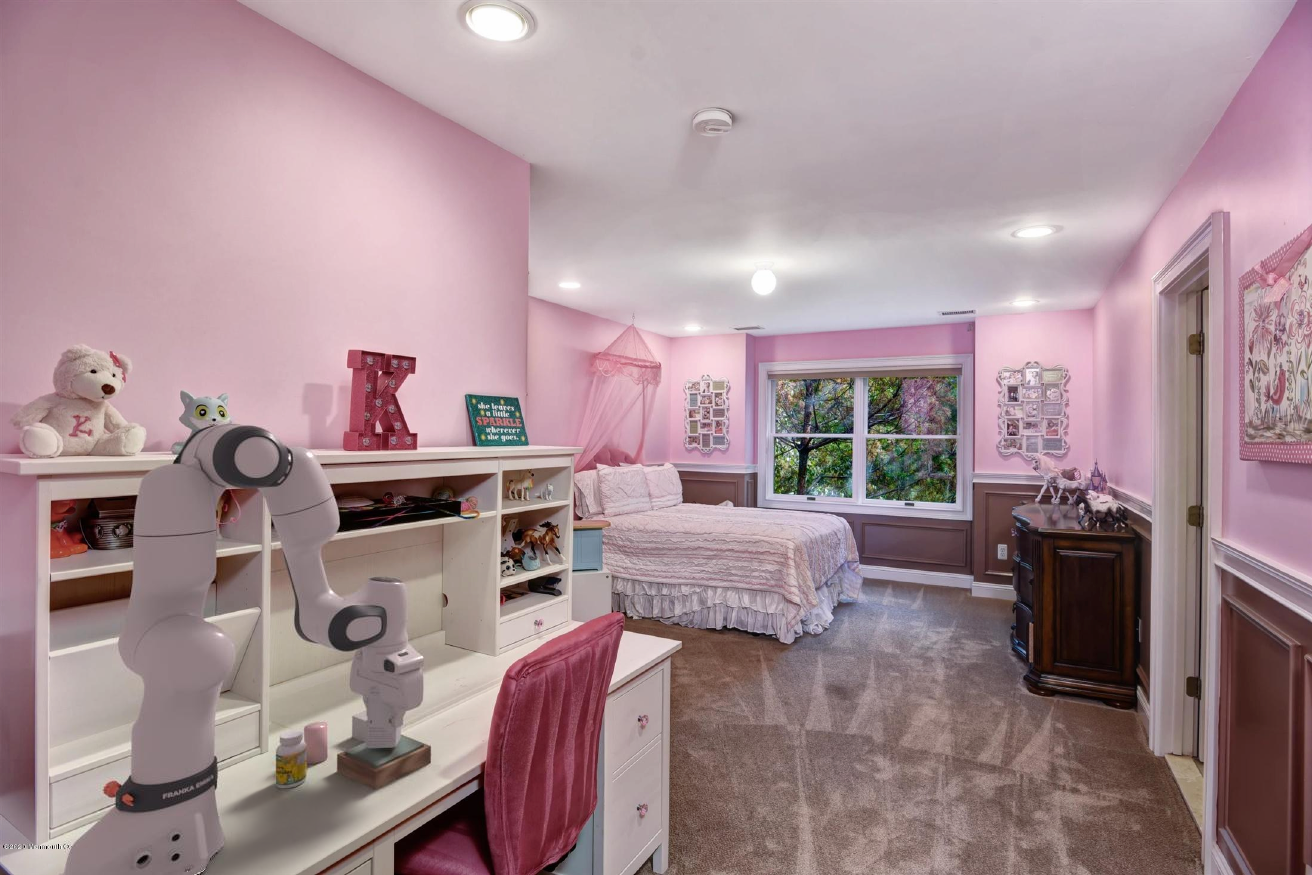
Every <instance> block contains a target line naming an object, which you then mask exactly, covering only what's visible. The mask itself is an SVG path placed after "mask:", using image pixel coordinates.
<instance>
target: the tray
mask: <svg viewBox="0 0 1312 875" xmlns="http://www.w3.org/2000/svg"><path fill="white" fill-rule="evenodd" d="M431 762H432V745H430V744H427V743H424V742H422V741H419V740H416V739H414V738H411V737H408V736H406V735H404V734H401V738H400V740H399V742H398V743H397V745H396V747H393V748H366V742H363V743H360V744H358V745H356V746H354V747H352V748H349V749H347V750H344V751H341V752H339V753H337V754H336V772H338V773H340V774H342V775H344V776H347V778H350V779H352V780H354V781H356V782H359V783H361V784H363V785H364V786H367V787H369V788H371V789H373V790H375V791H376V790H378V789H380V788H382V787H384V786H386V785H388V784H391V783H393V782H394V781H396V780H398V779H400V778H402V777H404V776H407V775H408V774H410V773H412V772H414V771H417V770H419V769H421V768H423V767H425V766H427V765H429V764H431Z"/></svg>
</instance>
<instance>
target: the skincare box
mask: <svg viewBox="0 0 1312 875" xmlns="http://www.w3.org/2000/svg"><path fill="white" fill-rule="evenodd" d="M379 692H380V690H379V689H378V688H375V687H372V686H371V687H370V689H369V693H368V717H367V742H366V748H393V747H396V745H397V743H398V742H399V740H400V738H401V735H402V732H401V730H402V726H400V727H398V728H396V727H394V726H392V725H391V723H392V722H391V718H393V717H394V716H395V714H396V711H394V706H391V705H388V704H385V703H383V702H380V700H379Z"/></svg>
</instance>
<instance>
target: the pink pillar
mask: <svg viewBox="0 0 1312 875" xmlns="http://www.w3.org/2000/svg"><path fill="white" fill-rule="evenodd" d="M303 741H304V742H305V743H306V746H307V765H312V764H313V765H314V764H315V765H316V764H319V763H322V762H324V761H326V760H327V759H328V757H329V756H328V722H326V721H317V722H316V721H315V722H313V723H312V722H311V723H308V724H307V725H305V726H304V727H303Z"/></svg>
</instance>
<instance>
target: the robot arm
mask: <svg viewBox="0 0 1312 875" xmlns="http://www.w3.org/2000/svg"><path fill="white" fill-rule="evenodd" d="M227 489H244V490H247V489H248V490H253V489H257V490H258V491H259V492H260V493H261V495H262V496H263V498H264V499H265V503H266V506H267V509H268V512H269V514H270V518H271V520H272V523H273V526H274V528H275V532H276V534H277V537H278V538H279V542H280V546H281V551H282V554H283V559H284V562H285V566H286V571H287V573H288V577H289V581H290V584H291V587H292V591H293V595H294V601H295V603H294V604H295V607H294V615H293V624H294V628H295V631H296V633H297V635H298V637H300V638H301V639H302V640H304V641H306V642H307V643H313V644H317V645H321V646H323V647H326V648H329V649H333V650H335V651H338V652H346V653H347V652H353V651H355V653H354V657H353V658H354V659H353V660H352V662H351V666H350V672H349V673H350V674H349V675H350V676H349V688H350V691H351V692H352V693H355V694H357V695H360V696H362V701H363V704H364V707H365V709H366V710H365V711H366V716H367V717H368V693H369V689H370V687H371V686H372V687H375V688H378V689H379V690H380V692H379V700H380V702H383V703H385V704H388V705H391V706H394V711H396V714H395V716H394V717H393V718H391V722H392V723H391V725H392V726H394V727H396V728H398V727H400V726H401V727H402V726H403V725H404V717H405V714H406V713H407V712H408V711H412V710H414V709H417V708H420V706H421V705H422V703H423V701H424V686H425V684H424V674H423V671H422V669H421V667H423V666H424V664H425V658H424V656H423V655H422V654H421V653H419V652H418V651H417V650H416V649H415V648H414V647H413V646H412V645H411V644H410V643H409V634H408V631H407V624H408V621H409V609H410V608H409V594H408V588H407V586H406V584H405V583H404V582H403V581H402V580H401V579H397V578H393V577H387V576H386V577H385V576H374V577H370V578H368V579H367V580H366V582H365V584H364V585H362V587H360V588H359V589H358V590H356V591H355V592H354V593H352V594H351V595H348V596H346V597H341V596H340V595H338V594H337V593H335V591H333V590H332V588H331V587H330V585H329V582H328V579H327V578H328V577H327V575H326V571H325V567H324V563H323V558H322V553H321V552H322V548H323V546H325V545H326V544H328V543H329V541H331V540H332V539H333V537H335V536H336V534H337V532H338V530H339V527H340V526H341V525H340V524H341V523H340V514H339V508H338V504H337V503H338V502H337V501H336V498H335V495H334V492H333V489H332V486H331V484H330V482H329V479H328V477H327V475H326V473H325V470H324V469H323V467H322V465H321V463H320V461H319V460H318V458H317V456H316V454H315V453H314V452H313V451H311V449H309V448H306V447H304V446H297V445H292V446H291V445H290V446H286V445H285V443H283V442H282V441H281V440H280V439H279V438H278V437H277V436H276V435H275V434H274V433H272V432H270V431H269V430H267V429H265V428H262V427H259V426H256V425H243V424H239V423H223V424H219V425H218V424H217V425H216V424H215V425H209V426H205V427H203V428H201V429H198V430H197V431H195V432H193V433H192V434H191V435H190V436H189V438H188V439H187V440H186V441H185V442H184V445H183V446H182V448H181V450H180V452H179V453H178V454H177V455H176V457H175V459H174V460H173V462H172V463H170V464H164V465H161V466H158V467H155V468H153V469H151V470H150V471H147V473H146V474H145V475H144V476H143V477H142V480H141V482H140V486H139V488H138V493H137V497H136V501H135V502H136V503H135V510H134V519H133V538H132V539H133V542H132V543H133V544H132V546H133V550H132V551H133V552H132V553H133V554H132V556H133V557H132V558H133V559H132V560H133V562H132V584H131V592H130V597H129V602H128V607H127V611H126V616H125V619H124V620H125V621H124V626H123V628H122V630H121V632H120V635H119V636H118V641H117V649H118V652H119V655H120V658H121V660H122V662H123V664H124V665H125V666H126V668H127V669H129V670H130V671H131V672H133V673H135V674H136V675H138V676H139V677H141V679H142V682H143V698H142V702H141V706H140V710H139V714H138V718H137V719H136V721H134V724H133V725H132V728H131V740H130V741H131V745H130V746H131V748H130V750H131V752H130V753H131V755H130V775H129V776H128V778H127V779H126V780H125V782H124V783H123V784H121V783H119V782H118V781H117V780H111V781H109V782H107V783H106V784H105V786H103V789H102V792H103V794H104V795H105V796H107V797H108V798H112V799H113V798H115V802H114V803H115V804H114V806H113V807H111V809H110V810H109V811H108V812H107V813H106V814H105V815H103V816H102V817H101V818H99V820H97V821H96V823H95V824H93V825H92V826H91V827H90V828H89V829H88V830H87V831H86V832H84V834H82V835H81V836H80V837H78V839H76V841H74V843H73V844H72V846H71V847H70V849H69V852H68V855H67V859H66V861H65V867H64V872H62V873H60V874H59V875H194V874H197V873H198V872H201V871H203V870H204V869H205V868H206V866H207V864H208V865H209V863H210V861H211V860H210V858H211V857H212V856H213V855H214V854H215V853H216V852H219V851H220V850H221V849H222V848H221V847H224V845H225V842H224V841H226V836H225V834H224V831H223V828H222V825H221V821H220V816H219V813H218V812H219V811H218V807H217V806H218V805H217V798H216V797H217V796H216V790H217V788H218V779H219V778H218V777H219V769H218V757H217V756H216V755H215V745H216V744H215V738H216V737H215V736H216V734H215V733H216V731H215V730H216V713H217V708H218V702H219V699H220V695H221V690H222V687H223V684H224V680H226V679H227V677H228V676H229V675H230V674H231V671H232V669H233V668H234V665H235V662H236V654H237V653H236V648H235V644H234V643H233V642H232V640H231V638H230V637H229V636H228V635H227V633H226V632H225V631H224V630H223V629H222V628H221V627H220V626H218V625H216V624H215V623H212V622H209V621H206V619H205V618H204V609H205V603H206V601H207V600H206V599H207V595H208V591H209V589H210V586H211V584H212V582H214V580H215V578H216V575H217V510H218V509H217V508H218V505H219V502H220V501H219V500H220V498H221V497H222V495H223V493H224V492H225V491H226V490H227ZM218 850H219V851H218ZM215 855H216V854H215ZM215 855H214V856H215ZM214 856H213V857H214ZM213 857H212V858H213ZM212 858H211V859H212ZM209 860H210V861H209ZM208 862H209V863H208ZM207 867H208V866H207ZM206 869H207V868H206ZM187 871H188V872H187Z"/></svg>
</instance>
